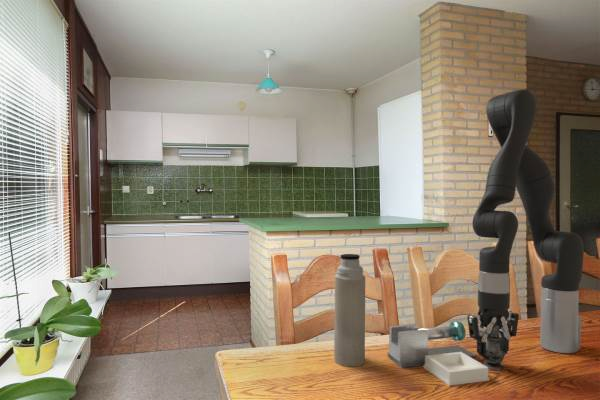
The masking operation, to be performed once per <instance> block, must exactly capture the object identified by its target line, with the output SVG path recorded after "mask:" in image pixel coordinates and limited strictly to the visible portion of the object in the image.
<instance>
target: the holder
mask: <svg viewBox="0 0 600 400" xmlns="http://www.w3.org/2000/svg"><path fill="white" fill-rule="evenodd" d="M423 368H424V369H425V370H427V372H429V373H431V375H434V377H436V378H438V379H439V380H440V381H442V382H443V383H445V385H447V386H449V387H451V386H458V385H463V384H471V383H472V384H473V383H480V382H481V383H482V382H486V381H487V382H488V381H491V380H490V379H491V378H490V377H489V369H488V367H486V366H485V365H483V364H482V362H479V361H478V360H477V359H473V358H471V357H469V356H467V355H466V354H464V353H462V352H454V353H445V354H436V355H427V356H425V365H423Z"/></svg>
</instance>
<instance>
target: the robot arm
mask: <svg viewBox="0 0 600 400" xmlns="http://www.w3.org/2000/svg"><path fill="white" fill-rule="evenodd" d="M485 110H486V117H487V120H488V123H489V125H490V128H491V129H492V132H493V134H494V136H495V138H496V139H497V141H498V144H499V146H500V147H501V148H500V149H499V151H498V152H497V154H496V155H495V157H494V159H493V160H492V162H491V164H490V166H489V169H488V171H487V177H486V183H485V189H484V194H483V196H482V198H481V201H480V203H479V205H478V206H477V209H476V211H475V213H474V215H473V217H472V230H473V232H474V233H475V235H476V236H478V237H481V238H488V239H489V238H490V239H498V241H497V243H496V245H493V246H485V247H483V248H482V247H481V249H480V251H479V263H478V264H479V266H478V269H479V270H478V276H477V277H478V278H477V307H478V312H477V314H474V315H473V314H468V315H467V316H466V318H467V319H466V320H467V326H468V334H469V338H471V339H473V340H475V341H476V353H478V355H479V356H480V357H482V358H483V357H484V356H486V345H487V336H488V334H490V333H491V330H493V328H494V327H495V326H499V328H500V333H499V337H500V338H501V340H500V350H501V351H503V352H504V353H505V354H506V355H507V354H508V352H509V349H510V348H509V347H510V346H509V345H510V339H511V338H512V337H516V336H517V331H518V325H519V318H520V315H519V313H516V312H515V311H512V310H510V307H511V304H510V303H511V277H510V257H511V252H512V248H513V244H514V241H515V238H516V236H517V233H518V229H519V220H518V218H517V216H516V214H515V213H513V212H512V211H509V210H496V209H497V207H499V206H500V205H505V204H510V203H511V202H514V199H515V195H516V190H517V193H518V196H519V198H520V201H521V203H522V206H523V209H524V213H525V215H526V218H527V221H528V225H529V230H530V234H531V239H532V242H533V247H534V250H535V251H536V255H538V257H539V259H540V260H542V261H545V262H546V263H551V264H556V269H555V272H553V273H550V274H546V275H543V276H541V284H540V287H541V288H540V289H541V290H540V293H541V294H540V332H539V333H540V335H539V337H540V338H539V339H540V341H539V342H540V343H539V344H540V346H541V347H542V348H543V349H545V350H547V351H551V352H555V353H560V354H575V353H577V352H578V351H580V350H581V338H582V337H581V335H582V334H581V332H582V331H581V329H582V326H581V325H582V317H581V315H579V302H580V301H579V295H580V293H579V290H580V283H581V280H582V277H583V267H584V253H585V251H584V250H585V246H584V242H583V239H582V237H581V236H580V235H579V234H577V233H575V232H570V231H561V230H560V231H559V230H556V229H555V228H554V226H553V222H552V220H551V216H550V211H551V206H552V203H553V201H554V196H555V193H556V185H555V181H554V179H553V178H554V177H553V175H552V172H551V169H550V167H549V165H548V164H547V162H546V161H545V160H544V159H543V158H542V157H541V156H540V155H539V154H537V152H535V151H534V150H533V149H532V148H530V147H529V146H528V145H527V143H528V141H529V137H530V134H531V131H532V128H533V124H534V122H535V118H536V115H537V101H536V98H535V95H534V94H533V93H532V92H531V91H530V90H528V89H524V88H522V89H517V90H513V91H509V92H505V93H502V94H499V95H495V96H493V97H491V98H490V99H488V101H487V103H486V109H485ZM509 310H510V311H509Z"/></svg>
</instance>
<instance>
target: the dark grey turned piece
mask: <svg viewBox="0 0 600 400" xmlns="http://www.w3.org/2000/svg"><path fill="white" fill-rule="evenodd" d="M499 333H500V328H499V326H495V327H494V328H493V330H491V333H490V334H488V336H487V338H486V356H484V357H482V359H483V360H484V361H483V362H481V364H483V365H485V366H486V367H488V370H492V371H503V370H504V369H505V367H504V365H503V364H502V362H503V361H504V359H505V356H506V355H507V354H505V353H504V352H503V351H501V350H500V340H501V338H500V337H501V336H500V334H499Z"/></svg>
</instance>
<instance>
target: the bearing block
mask: <svg viewBox="0 0 600 400" xmlns="http://www.w3.org/2000/svg"><path fill="white" fill-rule="evenodd" d="M388 328H389V334H388V335H389V341H388V343H389V344H388V345H389V346H388V347H389V348H388V349H389V351H388V352H387V358H389V359H390V360H392V362H394V363H395V364H396V365H398V366H399V367H400V368H402V369H405V368H413V367H421V366H423V365H425V356H427V355H436V354H445V353H454V352H462V353H464V354H466V355H467V356H469V357H471V358H473V359H474V360H477V359H478V358H477V354H475V353H473V352H472V351H469V350H468V349H466V348H465V347H462V346H461V345H459V344H457V345H449V346H448V345H447V346H438V347H430V348H429V340H428V330H426V329H424V328H422V329H423V330H417V329H420V328H419V324H417V323H411V324H400V325H390V326H389V327H388Z"/></svg>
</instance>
